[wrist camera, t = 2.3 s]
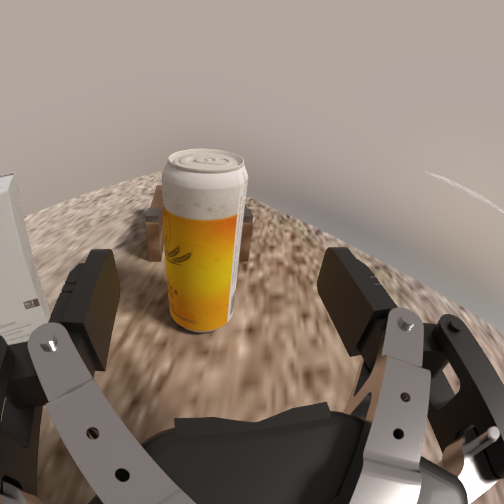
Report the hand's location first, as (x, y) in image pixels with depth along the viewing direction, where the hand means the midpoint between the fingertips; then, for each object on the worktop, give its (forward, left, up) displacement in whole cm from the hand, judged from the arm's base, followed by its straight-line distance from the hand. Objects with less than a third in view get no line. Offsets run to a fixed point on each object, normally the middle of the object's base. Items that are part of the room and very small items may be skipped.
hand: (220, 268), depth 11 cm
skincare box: (-19, +8, -14) cm, 25 cm away
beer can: (0, +11, -14) cm, 18 cm away
